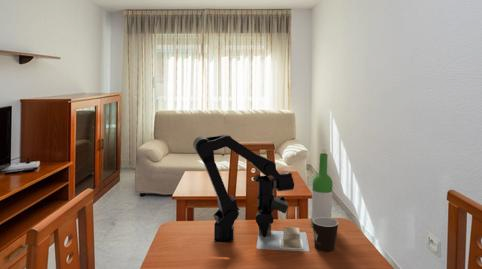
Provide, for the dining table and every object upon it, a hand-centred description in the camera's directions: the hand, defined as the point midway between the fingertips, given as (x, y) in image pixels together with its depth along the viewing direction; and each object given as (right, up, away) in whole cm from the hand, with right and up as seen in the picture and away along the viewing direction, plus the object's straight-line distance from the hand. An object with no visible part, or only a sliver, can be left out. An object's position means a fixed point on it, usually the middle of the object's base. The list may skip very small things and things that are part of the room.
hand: (265, 231), depth 134 cm
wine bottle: (+23, -1, +8) cm, 24 cm away
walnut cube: (0, -1, 0) cm, 1 cm away
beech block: (+9, -2, -9) cm, 12 cm away
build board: (+6, -2, -5) cm, 8 cm away
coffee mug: (+20, -3, -10) cm, 23 cm away
